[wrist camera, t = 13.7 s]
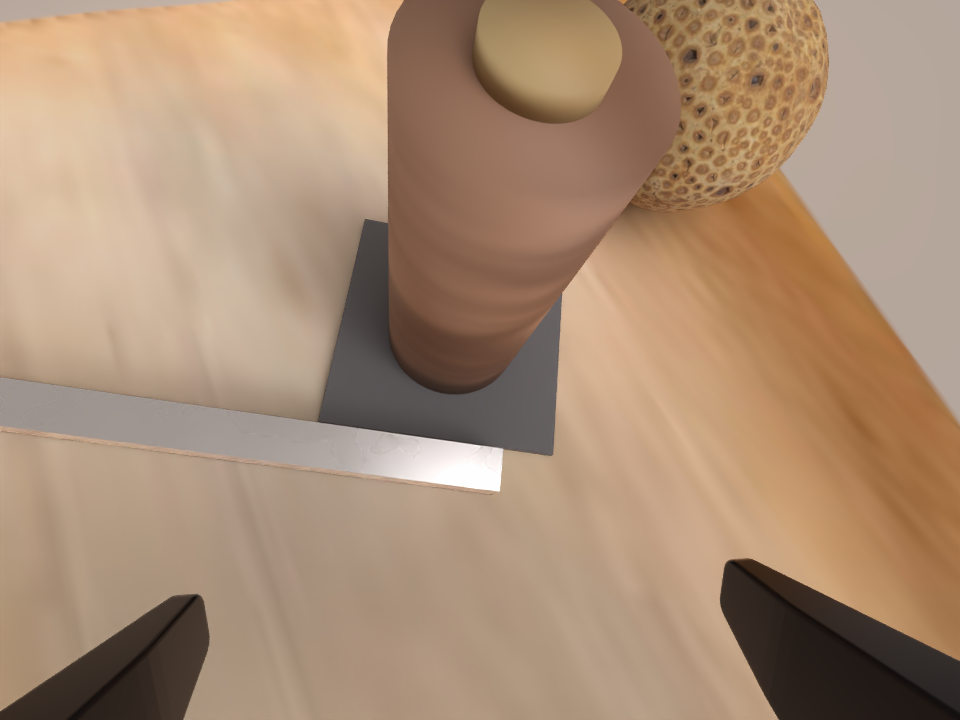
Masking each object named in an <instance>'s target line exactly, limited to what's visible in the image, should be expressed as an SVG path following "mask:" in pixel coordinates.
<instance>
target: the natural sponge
mask: <svg viewBox="0 0 960 720" xmlns="http://www.w3.org/2000/svg"><path fill="white" fill-rule="evenodd" d="M624 5H625V6H626V7H627V8H628V9H629V10H631V11H632V12H633V13H634V14H635V15H636V16H637V17H638V18H639V19H640V20H641V21H642V22H643V23H644V24H645V25H646V26H647V27H648V28H649V30H650V31H651V32H652V33H653V34H654V36H655V37H656V38H657V40H658V41H659V43H660V44H661V46H662V47H663V49H664V50H665V52H666V54H667V56H668V58H669V60H670V62H671V64H672V66H673V69H674V72H675V74H676V77H677V81H678V85H679V90H680V98H681V113H680V122H679V126H678V129H677V133H676V136H675V138H674V140H673V142H672V144H671V146H670V148H669V149H668V151H667V152H666V154H665V155H664V156H663V158H662V159H661V160H660V162H659V163H658V164H657V166H656V167H655V168H654V170H653V171H652V173H651V174H650V175H649V177H648V178H647V179H646V181H645V182H644V183H643V185H642V186H641V187H640V189H639V190H638V191H637V193H636V194H635V195H634V197H633V198H632V199H631V201H630V203H632V204H633V205H635V206H638V207H640V208H643V209H646V210H649V211H656V212H678V211H686V210H693V209H698V208H703V207H707V206H711V205H715V204H719V203H722V202H724V201H727V200H730V199H733V198H736V197H738V196H740V195H741V194H743V193H745V192H747V191H749V190H750V189H752V188H754V187H755V186H757V185H759V184H760V183H762V182H763V181H764V180H766V179H767V178H768V177H770V176H771V175H772V174H773V173H774V172H775V171H776V170H777V169H778V168H779V167H781V166H782V165H783V163H784V162H785V161H786V160H787V159H788V158H789V157H790V156H791V154H792V153H793V152H794V150H795V149H796V148H797V146H798V145H799V144H800V142H801V141H802V140H803V138H804V137H805V135H806V134H807V132H808V131H809V129H810V127H811V126H812V124H813V122H814V120H815V118H816V116H817V115H818V113H819V111H820V108H821V105H822V102H823V98H824V95H825V92H826V87H827V79H828V67H829V58H828V42H827V33H826V30H825V27H824V23H823V20H822V17H821V13H820V10H819V9H818V7H817V6H816V4H815V2H814V1H813V0H628V1H627V2H626V3H625V4H624Z"/></svg>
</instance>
